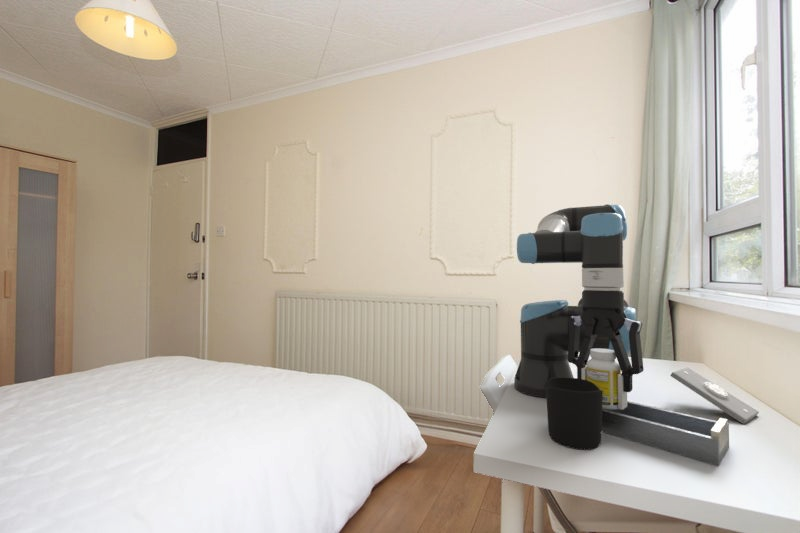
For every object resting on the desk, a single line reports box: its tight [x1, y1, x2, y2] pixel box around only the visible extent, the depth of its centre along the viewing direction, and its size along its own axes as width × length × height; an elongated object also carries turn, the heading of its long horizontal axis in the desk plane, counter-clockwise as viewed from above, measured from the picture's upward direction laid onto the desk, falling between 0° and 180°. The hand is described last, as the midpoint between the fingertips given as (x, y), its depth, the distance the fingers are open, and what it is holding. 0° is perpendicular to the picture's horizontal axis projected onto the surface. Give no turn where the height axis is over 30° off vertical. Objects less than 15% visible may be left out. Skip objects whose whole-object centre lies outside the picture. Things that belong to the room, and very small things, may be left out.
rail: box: [601, 400, 730, 467], centre depth 69 cm, size 21×10×5 cm, turn 41°
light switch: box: [670, 367, 760, 424], centre depth 83 cm, size 8×6×14 cm
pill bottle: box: [586, 348, 622, 409], centre depth 75 cm, size 6×6×11 cm
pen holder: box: [546, 377, 603, 450], centre depth 68 cm, size 9×9×10 cm
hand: (603, 402), depth 75 cm, fingers closed on pill bottle, 6 cm apart
